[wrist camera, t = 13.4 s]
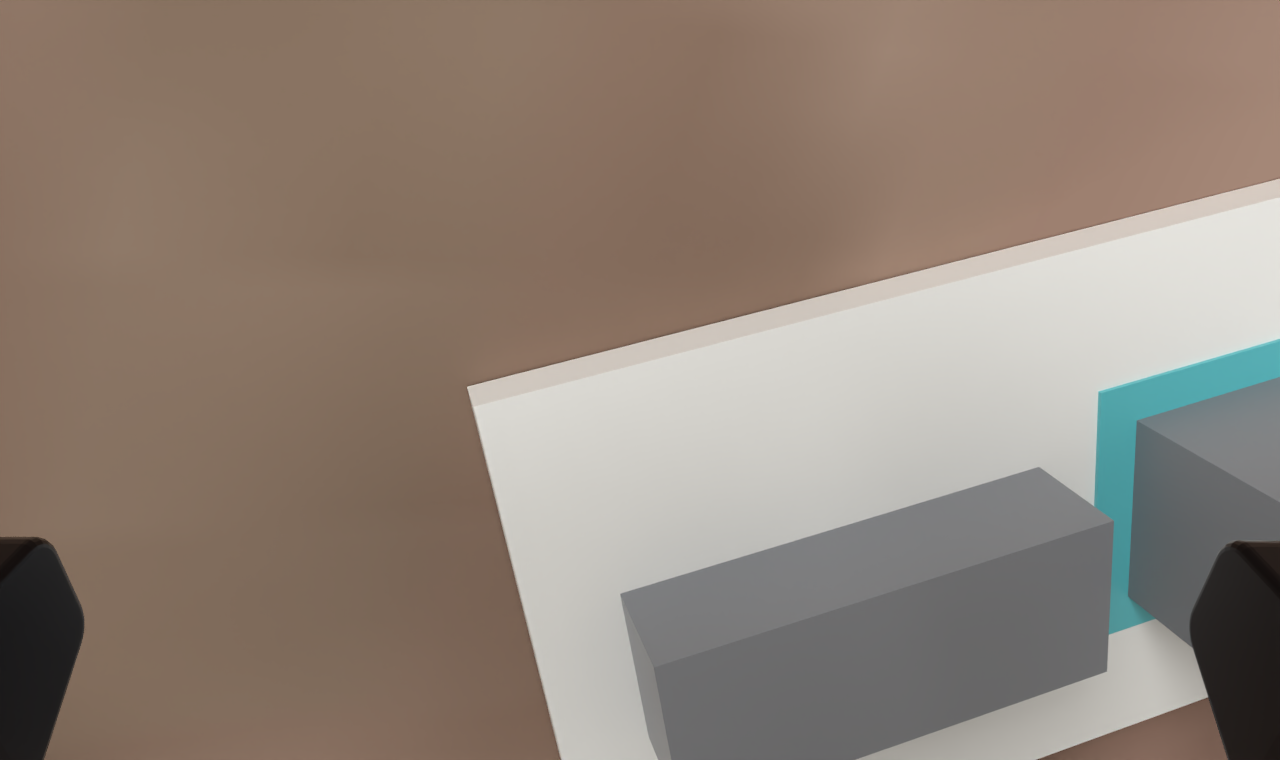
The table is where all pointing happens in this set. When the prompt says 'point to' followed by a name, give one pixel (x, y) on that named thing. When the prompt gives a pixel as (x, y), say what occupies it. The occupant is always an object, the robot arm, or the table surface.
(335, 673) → the table surface
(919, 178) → the table surface
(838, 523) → the baseplate
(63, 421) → the table surface
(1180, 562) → the pillar
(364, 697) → the table surface
